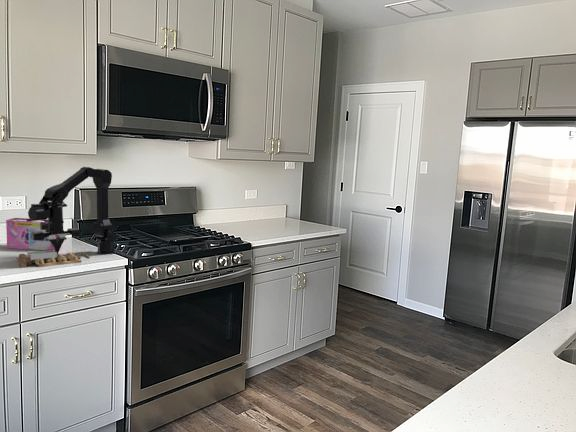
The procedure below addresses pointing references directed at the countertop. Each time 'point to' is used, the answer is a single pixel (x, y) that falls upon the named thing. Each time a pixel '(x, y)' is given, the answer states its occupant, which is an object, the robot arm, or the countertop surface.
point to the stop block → (22, 260)
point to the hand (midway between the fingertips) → (56, 253)
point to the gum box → (25, 234)
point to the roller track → (59, 258)
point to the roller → (28, 260)
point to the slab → (41, 254)
